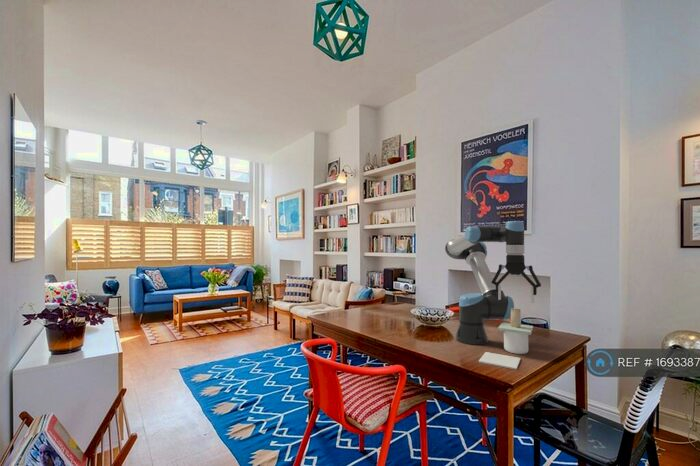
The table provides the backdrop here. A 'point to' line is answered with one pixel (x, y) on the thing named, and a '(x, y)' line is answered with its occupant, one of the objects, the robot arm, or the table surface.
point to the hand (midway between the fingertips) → (515, 300)
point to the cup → (516, 342)
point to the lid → (515, 324)
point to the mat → (500, 360)
